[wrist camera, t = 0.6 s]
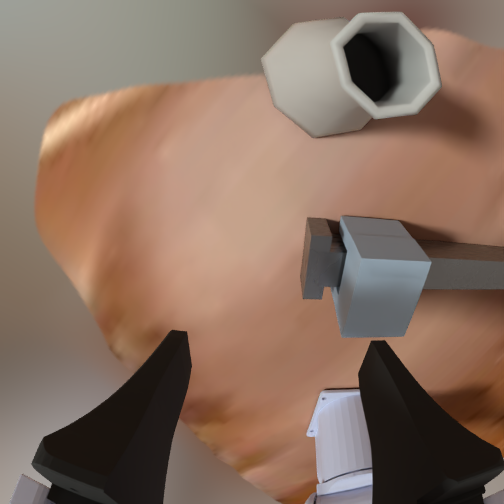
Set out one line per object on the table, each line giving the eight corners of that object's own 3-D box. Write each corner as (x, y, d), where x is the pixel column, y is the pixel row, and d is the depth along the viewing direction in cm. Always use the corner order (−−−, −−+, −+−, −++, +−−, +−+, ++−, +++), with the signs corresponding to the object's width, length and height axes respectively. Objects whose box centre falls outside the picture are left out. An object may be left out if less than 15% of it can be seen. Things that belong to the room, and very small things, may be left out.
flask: (238, 55, 15) (198, 17, 6) (346, 0, 13) (414, -70, 4) (306, 158, 18) (340, 231, 9) (408, 104, 15) (517, 132, 7)
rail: (537, 293, 21) (564, 326, 16) (298, 291, 22) (303, 347, 17) (562, 230, 18) (596, 260, 13) (308, 198, 19) (321, 238, 14)
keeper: (382, 286, 21) (403, 336, 17) (329, 284, 22) (341, 337, 17) (398, 219, 19) (431, 261, 14) (341, 215, 19) (361, 258, 14)
